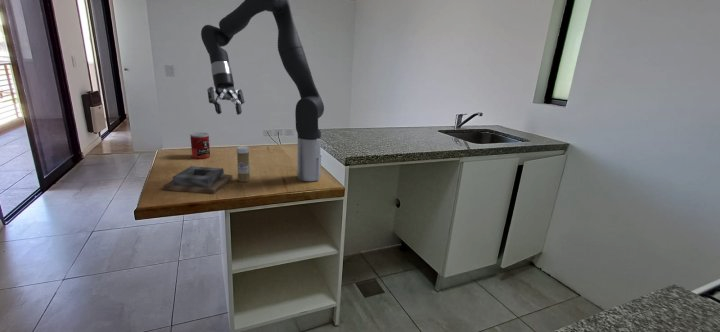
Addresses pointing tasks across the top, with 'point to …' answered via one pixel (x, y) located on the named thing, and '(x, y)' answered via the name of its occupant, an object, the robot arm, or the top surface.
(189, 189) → the socket board
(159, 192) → the top surface
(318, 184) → the top surface
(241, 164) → the sprinkles bottle
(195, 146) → the canned food
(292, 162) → the top surface
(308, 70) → the robot arm
